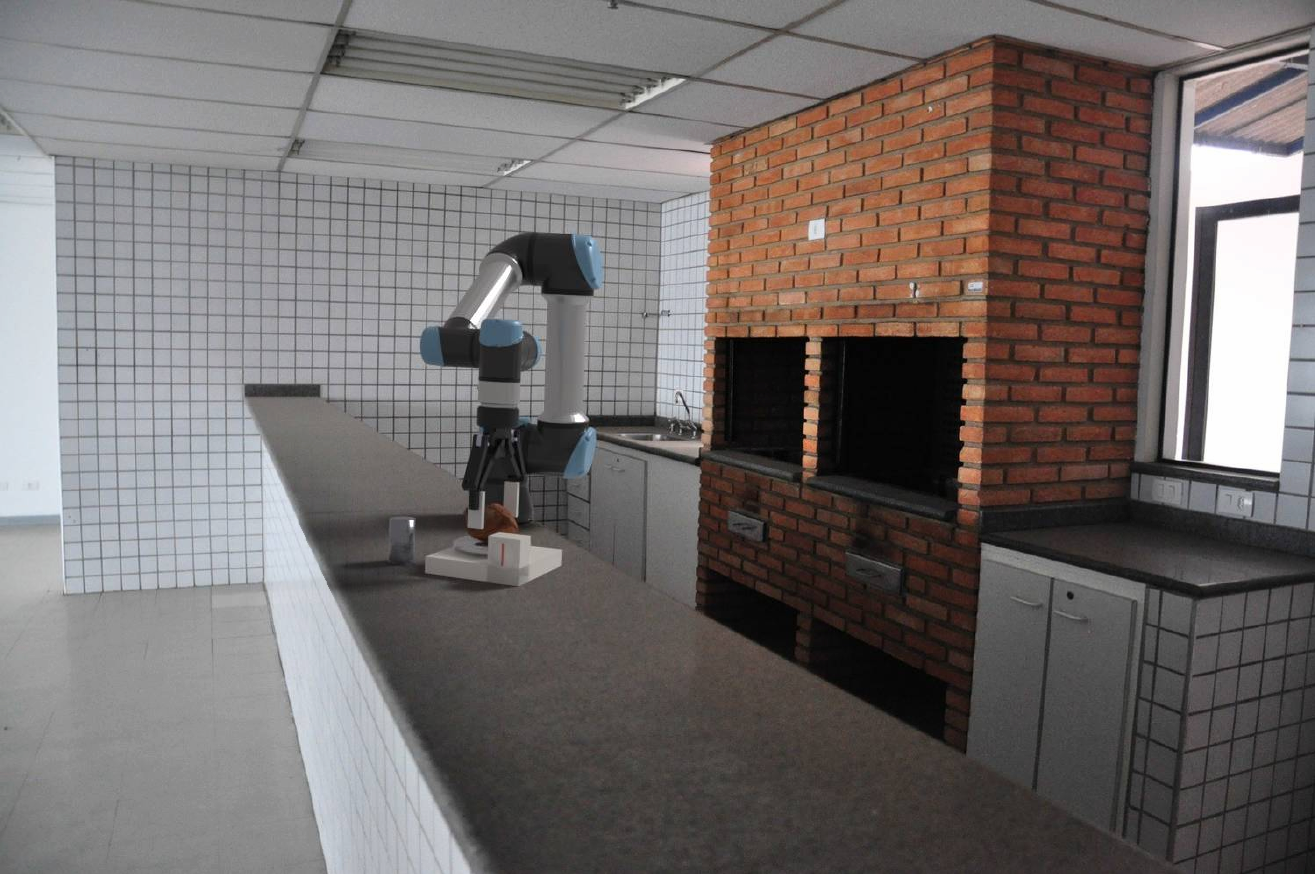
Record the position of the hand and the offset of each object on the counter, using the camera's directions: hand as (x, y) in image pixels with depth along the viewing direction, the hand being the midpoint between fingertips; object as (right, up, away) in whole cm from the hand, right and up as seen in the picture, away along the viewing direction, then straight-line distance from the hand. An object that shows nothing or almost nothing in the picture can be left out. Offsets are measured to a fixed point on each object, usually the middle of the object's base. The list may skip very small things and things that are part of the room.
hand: (493, 522), depth 182 cm
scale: (0, -8, -1) cm, 8 cm away
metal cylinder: (-17, -7, 0) cm, 18 cm away
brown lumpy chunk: (0, -4, 0) cm, 4 cm away
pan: (0, -5, +1) cm, 5 cm away
